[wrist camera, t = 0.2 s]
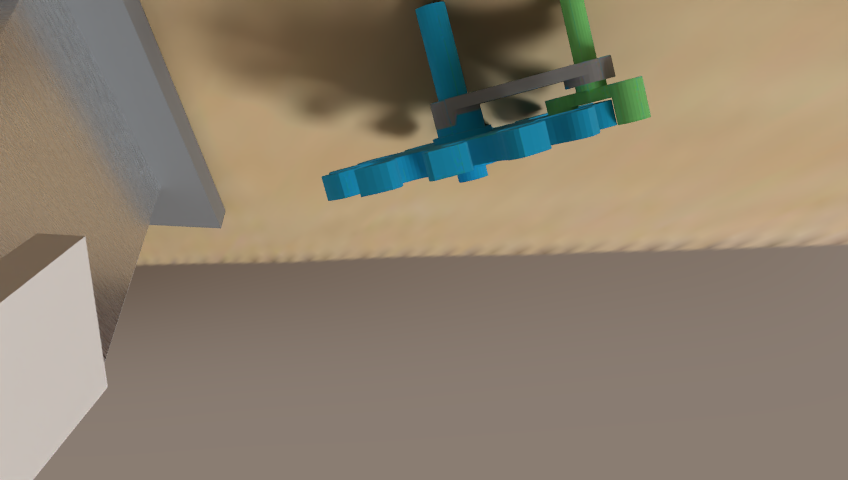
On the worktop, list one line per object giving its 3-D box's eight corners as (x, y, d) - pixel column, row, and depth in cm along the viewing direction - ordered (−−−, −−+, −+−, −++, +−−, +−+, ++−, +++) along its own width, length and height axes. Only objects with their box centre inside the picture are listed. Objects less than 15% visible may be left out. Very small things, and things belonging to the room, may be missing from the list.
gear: (371, 193, 32) (291, 238, 22) (333, 53, 31) (232, 38, 21) (636, 126, 30) (676, 145, 20) (603, -26, 29) (628, -84, 19)
